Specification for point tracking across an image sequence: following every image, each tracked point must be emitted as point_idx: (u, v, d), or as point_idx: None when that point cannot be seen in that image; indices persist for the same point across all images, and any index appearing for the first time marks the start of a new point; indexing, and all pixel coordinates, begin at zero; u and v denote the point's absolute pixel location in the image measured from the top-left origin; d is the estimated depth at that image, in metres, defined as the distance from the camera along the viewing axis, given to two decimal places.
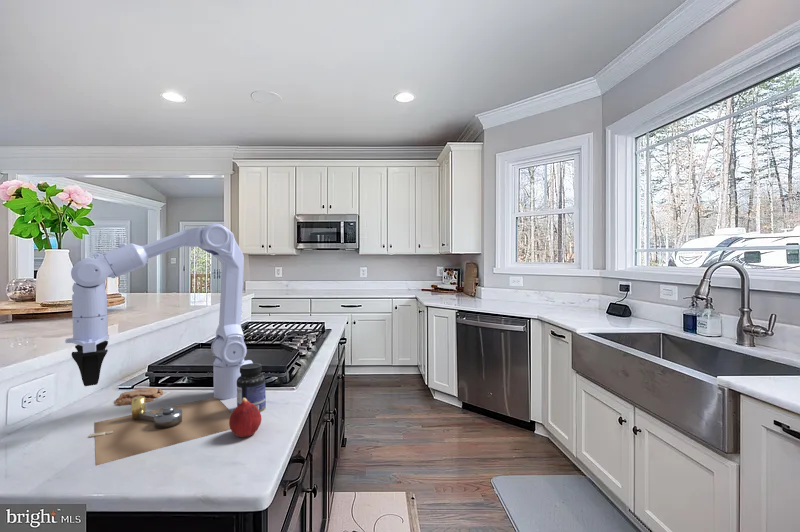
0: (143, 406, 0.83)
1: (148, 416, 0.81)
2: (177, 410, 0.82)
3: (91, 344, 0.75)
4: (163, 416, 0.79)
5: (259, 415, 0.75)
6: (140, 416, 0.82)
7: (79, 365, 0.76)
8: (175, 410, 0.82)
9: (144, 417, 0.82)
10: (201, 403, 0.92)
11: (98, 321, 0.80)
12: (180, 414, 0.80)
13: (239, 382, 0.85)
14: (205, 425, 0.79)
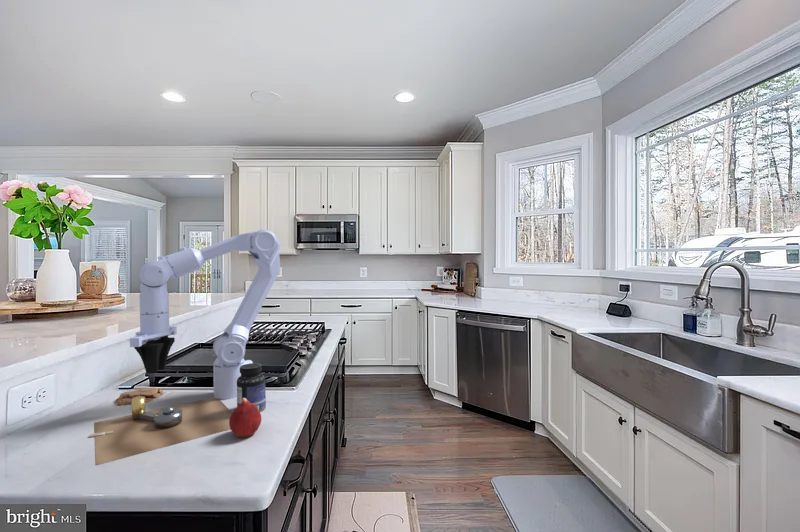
0: (143, 406, 0.83)
1: (148, 416, 0.81)
2: (177, 410, 0.82)
3: (135, 339, 0.82)
4: (163, 416, 0.79)
5: (259, 415, 0.75)
6: (140, 416, 0.82)
7: (140, 354, 0.87)
8: (175, 410, 0.82)
9: (144, 417, 0.82)
10: (201, 403, 0.92)
11: (154, 319, 0.87)
12: (180, 414, 0.80)
13: (239, 382, 0.85)
14: (205, 425, 0.79)
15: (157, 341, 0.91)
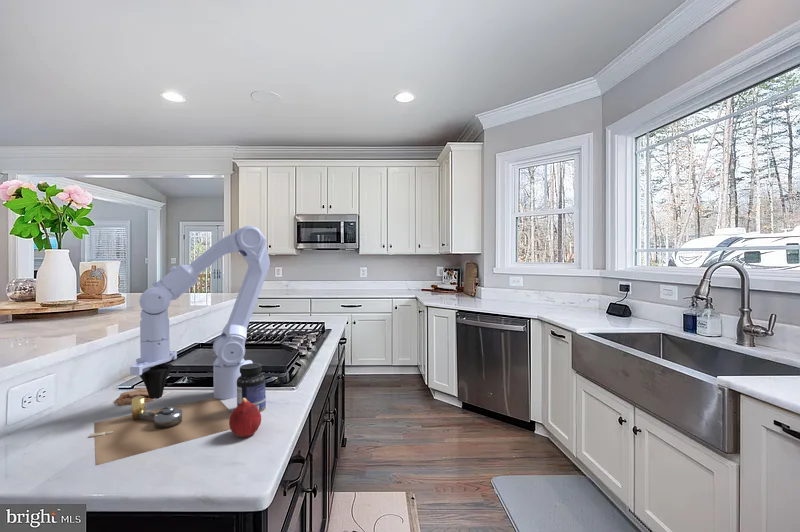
0: (143, 406, 0.83)
1: (148, 416, 0.81)
2: (177, 410, 0.82)
3: (136, 368, 0.82)
4: (163, 416, 0.79)
5: (259, 415, 0.75)
6: (140, 416, 0.82)
7: (143, 380, 0.88)
8: (175, 410, 0.82)
9: (144, 417, 0.82)
10: (201, 403, 0.92)
11: (154, 346, 0.87)
12: (180, 414, 0.80)
13: (239, 382, 0.85)
14: (205, 425, 0.79)
15: None
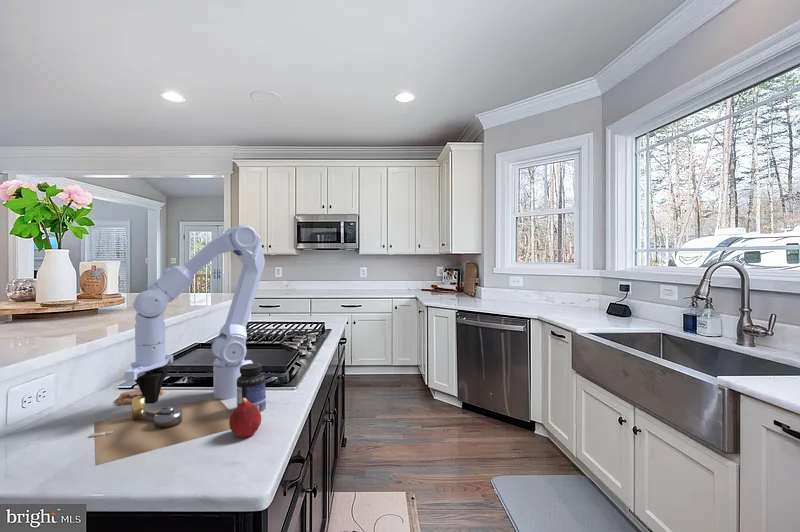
0: (143, 406, 0.83)
1: (148, 416, 0.81)
2: (177, 410, 0.82)
3: (130, 373, 0.81)
4: (163, 416, 0.79)
5: (259, 415, 0.75)
6: (140, 416, 0.82)
7: (138, 385, 0.86)
8: (175, 410, 0.82)
9: (144, 417, 0.82)
10: (201, 403, 0.92)
11: (149, 350, 0.85)
12: (180, 414, 0.80)
13: (239, 382, 0.85)
14: (205, 425, 0.79)
15: None
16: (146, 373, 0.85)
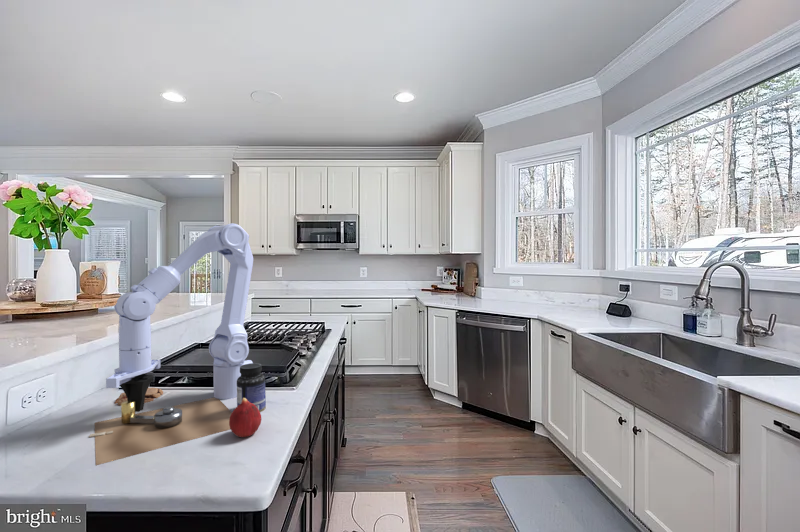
0: (134, 410, 0.81)
1: (143, 419, 0.80)
2: (176, 409, 0.82)
3: (112, 380, 0.76)
4: (165, 416, 0.79)
5: (259, 415, 0.75)
6: (132, 420, 0.80)
7: (124, 391, 0.82)
8: (174, 410, 0.82)
9: (137, 420, 0.80)
10: (201, 403, 0.92)
11: (134, 355, 0.80)
12: (181, 413, 0.81)
13: (239, 382, 0.85)
14: (205, 425, 0.79)
15: None
16: (132, 379, 0.81)
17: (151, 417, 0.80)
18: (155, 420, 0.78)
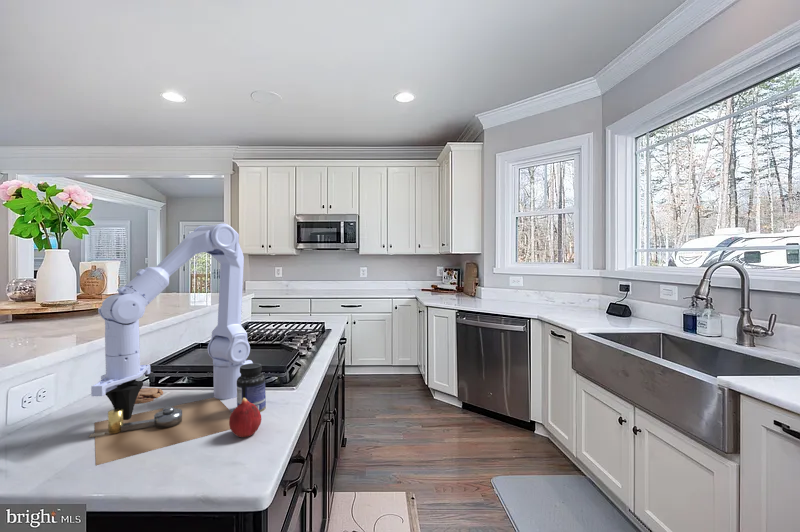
0: None
1: (139, 424, 0.77)
2: None
3: (98, 388, 0.71)
4: (169, 415, 0.79)
5: (259, 415, 0.75)
6: (124, 428, 0.76)
7: (110, 399, 0.77)
8: None
9: (131, 427, 0.77)
10: (201, 403, 0.92)
11: (121, 361, 0.76)
12: None
13: (239, 382, 0.85)
14: (205, 425, 0.79)
15: None
16: (118, 386, 0.76)
17: (147, 421, 0.79)
18: (160, 421, 0.78)
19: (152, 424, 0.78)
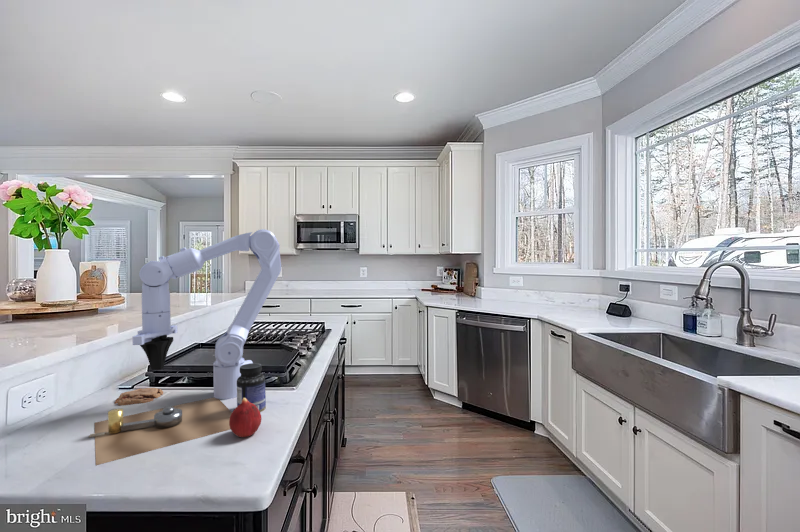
0: None
1: (139, 424, 0.77)
2: None
3: (138, 338, 0.84)
4: (169, 415, 0.79)
5: (259, 415, 0.75)
6: (124, 428, 0.76)
7: (145, 351, 0.90)
8: None
9: (131, 427, 0.77)
10: (201, 403, 0.92)
11: (156, 317, 0.89)
12: None
13: (239, 382, 0.85)
14: (205, 425, 0.79)
15: None
16: (152, 340, 0.89)
17: (147, 421, 0.79)
18: (160, 421, 0.78)
19: (152, 424, 0.78)
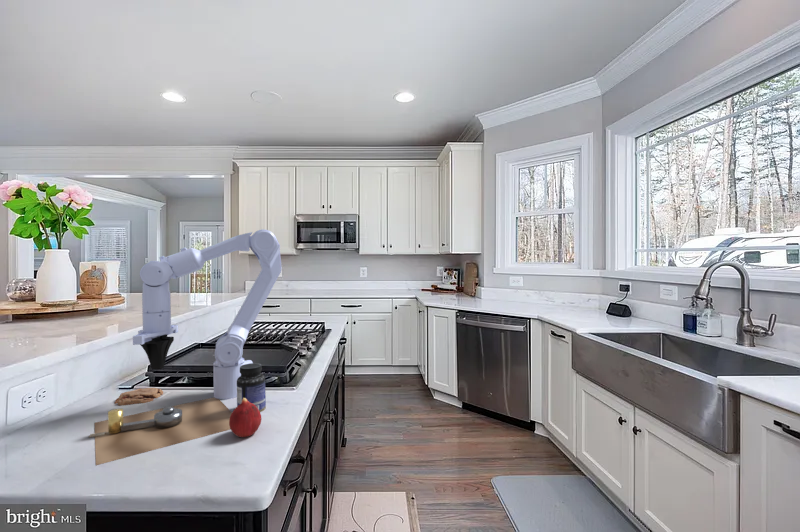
0: None
1: (139, 424, 0.77)
2: None
3: (138, 337, 0.84)
4: (169, 415, 0.79)
5: (259, 415, 0.75)
6: (124, 428, 0.76)
7: (145, 351, 0.90)
8: None
9: (131, 427, 0.77)
10: (201, 403, 0.92)
11: (156, 317, 0.89)
12: None
13: (239, 382, 0.85)
14: (205, 425, 0.79)
15: None
16: (153, 339, 0.89)
17: (147, 421, 0.79)
18: (160, 421, 0.78)
19: (152, 424, 0.78)
